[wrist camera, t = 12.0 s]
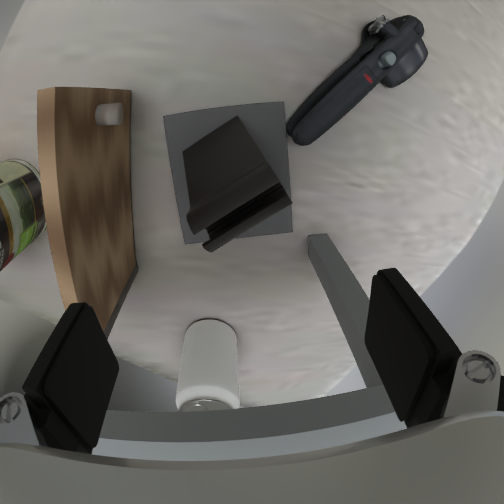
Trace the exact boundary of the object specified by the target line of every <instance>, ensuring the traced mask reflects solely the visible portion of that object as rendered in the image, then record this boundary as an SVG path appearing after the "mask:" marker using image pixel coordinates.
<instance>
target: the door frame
mask: <svg viewBox="0 0 504 504" xmlns="http://www.w3.org/2000/svg"><path fill="white" fill-rule="evenodd" d="M308 244H309V258H310V260H311V262H312V264H313V266H314V268H315V270H316V273H317V275H318V277H319V279H320V281H321V283H322V286H323V288H324V290H325V292H326V294H327V297H328V299H329V301H330V303H331V305H332V308H333V310H334V312H335V314H336V317H337V319H338V321H339V323H340V326H341V328H342V330H343V332H344V335H345V337H346V339H347V342H348V344H349V346H350V349H351V351H352V353H353V356H354V358H355V360H356V363H357V365H358V367H359V370H360V372H361V375H362V377H363V379H364V382H365V384H366V387H367V388H366V389H362V390H357V391H352V392H347V393H343V394H337V395H332V396H327V397H321V398H316V399H310V400H304V401H297V402H290V403H283V404H276V405H267V406H259V407H249V408H238V409H226V410H210V411H187V412H132V411H110V410H109V411H108V410H107V411H106V415H105V418H104V422H103V426H102V429H101V433H100V437H99V440H98V444H97V446H96V447H95V448H93V451H92V454H93V455H101V456H109V457H118V458H129V459H142V460H163V461H216V460H236V459H249V458H260V457H270V456H278V455H286V454H294V453H301V452H307V451H313V450H319V449H324V448H330V447H335V446H339V445H344V444H349V443H353V442H357V441H362V440H366V439H370V438H374V437H378V436H382V435H385V434H389V433H392V432H395V431H399V430H402V429H405V428H407V427H406V425H405V422H404V421H402V422H401V421H400V420H399V419H398V417H397V415H396V412H395V410H394V408H393V405H392V403H391V401H390V399H389V396H388V394H387V392H386V390H385V387H384V385H383V383H382V381H381V379H380V376H379V374H378V372H377V370H376V368H375V365H374V363H373V361H372V359H371V357H370V355H369V353H368V350H367V348H366V346H365V341H364V337H365V330H366V324H367V317H368V310H369V302H370V300H369V298H368V297H367V295H366V293H365V292H364V290H363V289H362V287H361V285H360V284H359V282H358V281H357V279H356V278H355V276H354V274H353V273H352V271H351V270H350V268H349V267H348V265H347V264H346V262H345V261H344V259H343V257H342V256H341V254H340V253H339V251H338V250H337V248H336V247H335V245H334V244H333V242H332V241H331V239H330V238H329V236H328V235H327V234H320V235H311V236H308ZM23 397H24V396H23Z"/></svg>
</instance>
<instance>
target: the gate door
mask: <svg viewBox="0 0 504 504" xmlns="http://www.w3.org/2000/svg"><path fill="white" fill-rule="evenodd" d="M130 100H131V90H120V89H105V88H84V87H52V88H47V89H42V90H38V93H37V134H38V155H39V169H40V180H41V190H42V198H43V206H44V213H45V220H46V226H47V232H48V238H49V243H50V249H51V254H52V258H53V263H54V268H55V272H56V277H57V281H58V285H59V289H60V293H61V297H62V300H63V304H64V308H65V311H66V309H67V308H68V306H69V305H70V304H71V303H80V302H86V303H87V304H88V305H89V306H92V307H93V309H94V311H95V314H96V316H97V318H98V321H99V323H100V325H101V327H102V330H103V332H104V334H105V336H106V338H107V339H108V337H109V334H110V332H111V329H112V327H113V325H114V322H115V320H116V318H117V316H118V313H119V311H120V309H121V307H122V304H123V302H124V300H125V298H126V296H127V293H128V291H129V289H130V287H131V285H132V283H133V280H134V278H135V276H136V274H137V272H138V267H137V265H136V261H135V250H134V239H133V226H132V210H131V189H130Z"/></svg>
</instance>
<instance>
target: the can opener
mask: <svg viewBox="0 0 504 504" xmlns="http://www.w3.org/2000/svg"><path fill="white" fill-rule="evenodd" d="M374 19H375V21H372V22H370V23H368V24H367V25H366V26H365V27H364V29H363V35H362V44H361V46H360V48H359V49H358V50H357V51H356V52H355V53H354V54H353V55H352V57H351V58H350V59H348V60H347V61H346V62H345V63H344V64H343V65H342V66H341V67H340V68H338V69H337V70H336V71H335V72H334V73H333V74H332V75H331V76H330V77H328V78H327V79H326V80H325V81H324V82H323V83H322V84H321V85H320V86H319V87H318V88H317V89H316V90H315V91H314V92H313V93H312V94H311V95H310V96H309V97H308V98H307V99H306V100H305V102H304V103H303V104H302V105H301V106H300V107H299V108H298V110H297V111H296V112H295V113H294V114H293V116H292V117H291V118H290V119H289V121H288V123H287V126H286V129H287V133H288V134H289V135H290V136H291V137H292V138H293V141H294V142H295V143H296V144H298V145H301V146H306V145H309V144H311V143H312V142H314V141H315V140H316V139H317V138H319V137H320V136H321V135H322V134H324V133H325V132H326V131H327V130H328V129H330V128H331V127H332V126H333V125H334V124H335V123H337V122H338V121H339V120H340V119H341V118H342V117H343V116H345V115H346V114H347V113H348V112H349V111H350V110H351V109H352V108H353V107H354V106H355V105H356V104H357V103H359V102H360V101H361V100H362V99H363V98H364V97H365V96H366V95H367V94H368V93H369V92H370V91H371V90H372V89H373V88H374V87H375V86H376V85H377V84H378V83H379V82H380V81H381V82H383V83H384V84H385V85H386V86H387V87H389V88H392V87H395V86H397V85H400V84H401V83H403V82H405V81H406V80H407V79H409V78H410V77H411V76H412V75H413V74H415V73H416V72H417V70H418V69H419V68H420V67H421V66H422V65H423V63H424V62H425V60H426V58H427V55H428V51H427V48H426V46H425V44H424V42H423V40H422V38H421V37H422V36H423V34H424V27H423V24H422V23H421V21H420V20H418V19H417V18H416V17H414V16H411V15H406V16H402V17H398V18H395V19H393V20H391V21H390V20H389V19H387V20H386V18H385V16H384V15H383V16H381V17H380V18H378V19H377V18H374Z"/></svg>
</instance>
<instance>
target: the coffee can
mask: <svg viewBox="0 0 504 504" xmlns="http://www.w3.org/2000/svg"><path fill="white" fill-rule="evenodd" d="M45 228H46V220H45V213H44V206H43V198H42V190H41V180H40V174H39V173H38V172H37V171H36V169H35V168H34V167H33V166H31V165H30V164H28V163H27V162H25V161H22V160H18V159H10V160H7V161H5V162H3V163H1V164H0V271H1V270H2V269H3V268H4V267H5V266H6V265H7V264H8V263H10V262H11V261H12V260H13V259H14V258H15V257H16V256H17V255H18V254H19V253H20V252H21V251H22V250H24V249H25V248H26V247H27V246H28V245H29V244H30V243H32V242H33V241H34V240H35V239H37V238H38V237H39V236H40V235H41V234H42V233H43V232H44V230H45Z"/></svg>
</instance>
